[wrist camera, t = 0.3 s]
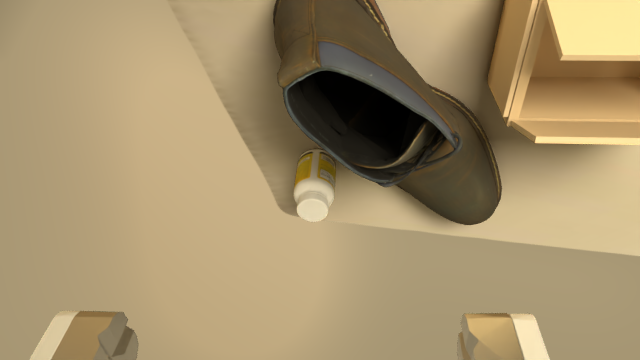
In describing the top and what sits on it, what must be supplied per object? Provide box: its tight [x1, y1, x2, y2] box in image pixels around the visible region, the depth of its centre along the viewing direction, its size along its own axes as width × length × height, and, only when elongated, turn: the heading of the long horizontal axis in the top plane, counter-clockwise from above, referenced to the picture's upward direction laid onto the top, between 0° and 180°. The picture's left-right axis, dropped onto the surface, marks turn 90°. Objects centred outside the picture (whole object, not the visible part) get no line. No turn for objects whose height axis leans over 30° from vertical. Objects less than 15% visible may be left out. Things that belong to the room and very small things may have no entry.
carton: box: [487, 0, 640, 126], centre depth 49 cm, size 14×19×10 cm
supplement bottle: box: [294, 149, 336, 222], centre depth 64 cm, size 5×5×10 cm
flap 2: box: [511, 120, 640, 145], centre depth 46 cm, size 1×18×7 cm, turn 91°
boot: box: [273, 0, 502, 225], centre depth 54 cm, size 15×41×20 cm, turn 41°
